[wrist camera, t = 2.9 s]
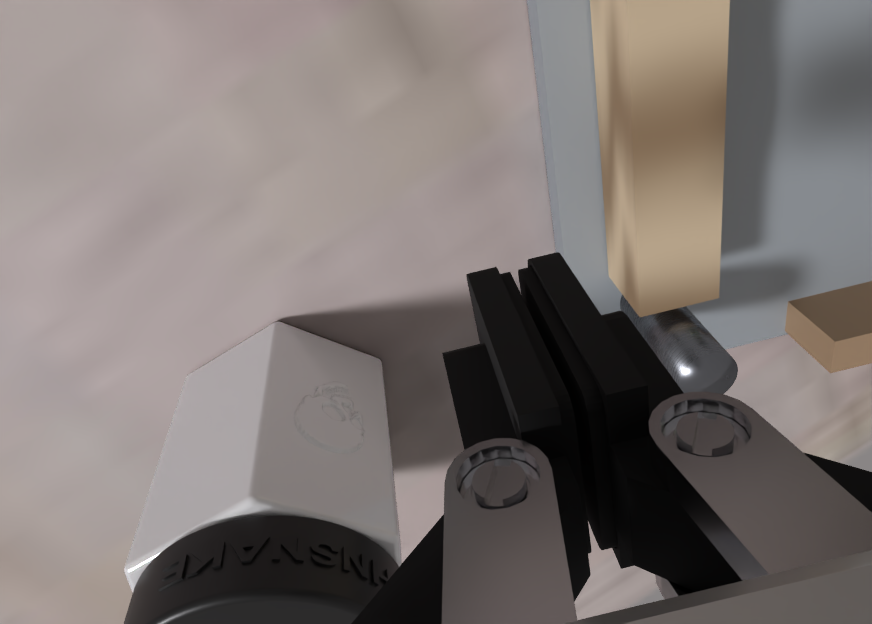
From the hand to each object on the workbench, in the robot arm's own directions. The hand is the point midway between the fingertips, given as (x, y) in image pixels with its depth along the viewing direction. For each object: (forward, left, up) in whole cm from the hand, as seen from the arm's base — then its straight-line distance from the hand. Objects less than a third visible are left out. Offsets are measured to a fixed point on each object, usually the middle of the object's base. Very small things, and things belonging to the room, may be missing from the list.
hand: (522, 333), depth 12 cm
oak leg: (+1, +7, -11) cm, 13 cm away
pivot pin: (+8, +7, -12) cm, 16 cm away
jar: (+10, -8, -13) cm, 18 cm away
